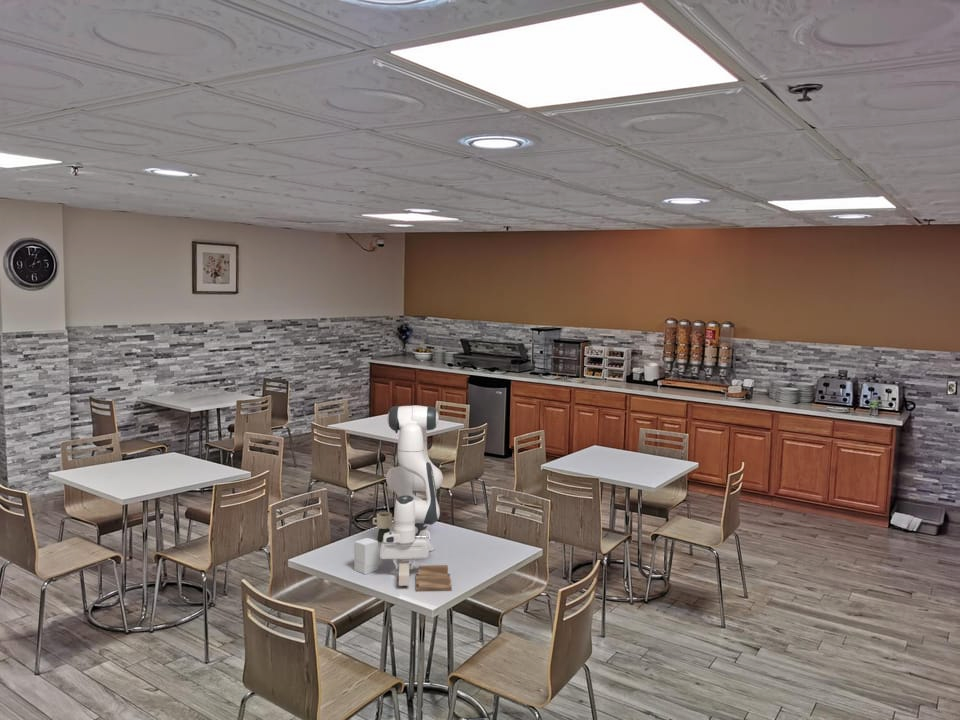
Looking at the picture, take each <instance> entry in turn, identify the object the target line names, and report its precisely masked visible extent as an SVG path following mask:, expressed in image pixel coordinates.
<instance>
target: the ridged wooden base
mask: <svg viewBox="0 0 960 720" xmlns="http://www.w3.org/2000/svg"><path fill="white" fill-rule="evenodd" d="M448 566H449V565H447V564H445V565H444V564H443V565H440V564H437V565H436V564H435V565H432V564H431V565H430V564H429V565H418V573H416V574H415V591H416V592H448V591H449V592H452V591H453V589H452V581H451V580H452V579H451V574H450V573H449V572H448V571H449V567H448Z"/></svg>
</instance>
